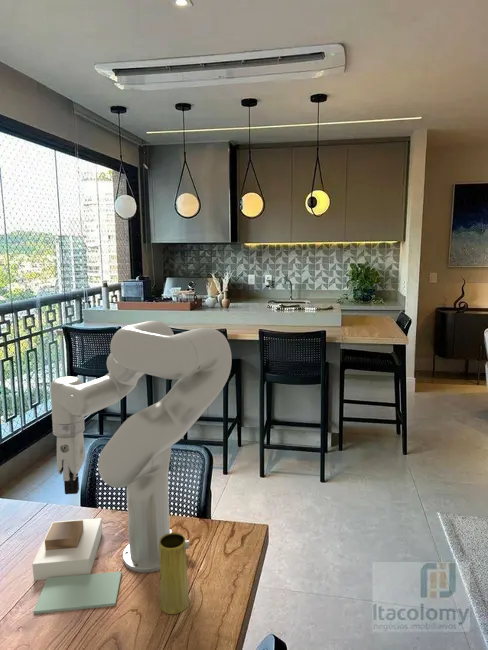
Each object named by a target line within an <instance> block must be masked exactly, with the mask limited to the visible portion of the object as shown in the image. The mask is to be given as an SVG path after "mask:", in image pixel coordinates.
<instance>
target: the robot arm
mask: <svg viewBox="0 0 488 650" xmlns="http://www.w3.org/2000/svg"><path fill="white" fill-rule="evenodd" d="M109 348H110V349H109V350H110V353H109V355H108V356H107V359H106V368H107V371H108V373H106V374H105V375H104V376H101V377H99V378H98V377H97V378H95V379H92V380H88V381H86V382H83V381H82V379H81V378H80V377H77V376H71V375H70V376H69V375H68V376H61V377H60V376H59V377H57V378H56V379H53V380H52V381H51V383H50V403H51V404H50V406H51V420H52V434H53V436H56V467H57V468H56V469H57V473H58V474H59V475H62V474H63V476H62V478H63V479H62V480H63V485H64V494H65V495H77V494H78V493H79V490H80V482H79V473H80V471H81V468H82V467H83V464H84V461H85V458H86V449H85V440H84V432H85V417H87V416H90V415H92V414H95V413H97V412H98V411H101V410H104V409H105V408H107V407H108V408H109V407H110V406H113V405H116V403H118V402H120V401H121V400H122V399H123V398H124V397H126V396H127V395H128V394H130V393H131V391H133V390H134V389H135V388H136V386H137V384H138V381H139V379H140V378H141V377H143V376H144V375H149V376H153V377H158V378H161V379H165V380H174V381H175V380H177V381H176V382H175V383H174V385H173V386H172V387H171V389H170V390H169V391H168V392H167V394H165V395H164V397H162V399H160V400H159V401H157V402H156V403H154V404H151V405H149V406H147V407H146V408H143V409H141V410H139V411H137V412H135V413H133V414H132V415H130V416H129V417H128V418H127V419H126V420H125V421H123V423H122V424H121V425H120V426H119V427H118V429H117V430H116V431H115V432H114V434H113V436H111V438H110V439H109V440H108V441H107V443H106V444H105V446H104V447H103V448H102V449H101V451H100V454H99V457H98V461H97V462H98V463H97V467H98V468H97V471H98V473H99V476H100V478H101V480H102V481H103V482H104V483H105V484H107V485H108V486H110V487H112V488H115V489H116V488H119V489H120V488H121V489H122V488H125V487H126V507H127V511H126V512H127V525H128V526H127V527H128V545H127V546H126V547H125V548H124V551H123V553H122V561H123V563H124V565H125V567H126V568H127V569H129V570H131V571H132V572H136V573H143V574H144V573H147V574H149V573H153V572H156V571H160V555H159V541H160V539H161V537H163V536H164V535H166V534H169V533H173V531H172V529H170V524H171V523H170V503H169V501H170V500H169V499H170V498H169V469H170V463H171V456H172V446H173V445H175V444H176V443H177V442H179V441H180V440H181V439H182V438H183V437H184V436H185V435H186V433H187V432H188V431H189V430H190V429H191V428H192V427H193V425H195V423H196V422H197V420H199V418H200V417H201V416H202V415H203V414H204V413H205V411H206V410H207V409H208V407H210V405H211V404H212V403H213V401H214V400H216V398H217V397H218V396H219V394H220V393H221V392H222V390H223V389H224V387H225V385H226V383H227V382H228V379H229V376H230V375H231V370H232V351H231V347H230V343H229V342H228V340H227V337H226V336H225V335H224V334H223V333H222V332H221V331H219V330H218V329H215V328H211V327H199V328H195V329H190V330H187V331H182V332H180V333H176V334H174V331H173V330H172V328H171V327H170V325H168V324H166V323H165V322H162V321H159V320H147V321H144V322H143V321H142V322H138V323H134V324H129V325H125V326H123V327H121V328H119V329H118V330H117V331H116V332H115V333H114V335H113V336H112V338H111V340H110V347H109ZM182 535H183V536H184V537H185V535H184V534H182ZM185 542H186V549H190V539H185Z"/></svg>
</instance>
